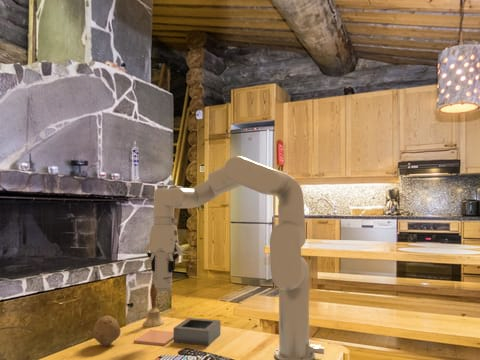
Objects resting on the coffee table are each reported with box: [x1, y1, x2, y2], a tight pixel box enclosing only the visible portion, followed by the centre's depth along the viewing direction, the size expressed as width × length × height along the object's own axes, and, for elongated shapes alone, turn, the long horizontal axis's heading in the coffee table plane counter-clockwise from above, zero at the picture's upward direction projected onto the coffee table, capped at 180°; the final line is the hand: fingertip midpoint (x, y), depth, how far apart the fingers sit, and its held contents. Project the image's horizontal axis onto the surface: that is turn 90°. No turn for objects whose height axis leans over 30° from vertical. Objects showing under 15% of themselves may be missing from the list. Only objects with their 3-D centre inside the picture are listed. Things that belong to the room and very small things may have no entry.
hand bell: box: [142, 283, 165, 328], centre depth 158 cm, size 8×8×16 cm
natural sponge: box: [92, 315, 121, 347], centre depth 133 cm, size 9×9×10 cm
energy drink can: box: [154, 248, 173, 292], centre depth 142 cm, size 6×6×15 cm
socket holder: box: [172, 317, 221, 347], centre depth 140 cm, size 13×13×5 cm
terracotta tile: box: [133, 329, 174, 346], centre depth 140 cm, size 12×12×1 cm
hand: (163, 270), depth 141 cm, fingers closed on energy drink can, 6 cm apart
